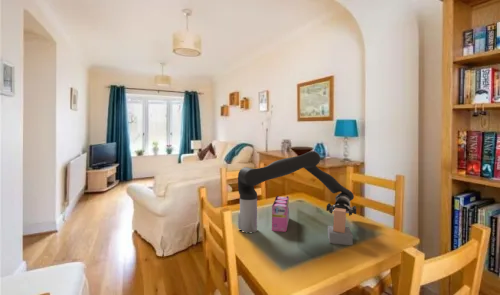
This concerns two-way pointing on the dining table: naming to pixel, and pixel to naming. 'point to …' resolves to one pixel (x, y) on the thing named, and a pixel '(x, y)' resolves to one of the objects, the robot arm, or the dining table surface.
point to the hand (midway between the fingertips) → (340, 212)
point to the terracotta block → (339, 220)
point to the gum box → (280, 214)
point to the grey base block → (340, 236)
